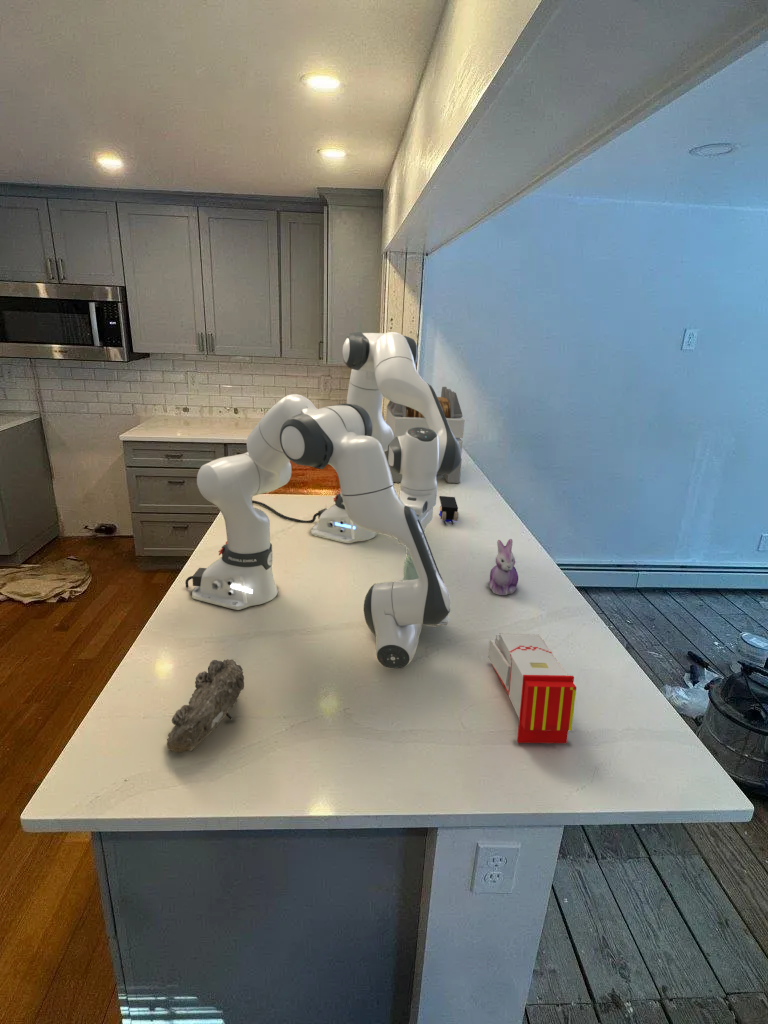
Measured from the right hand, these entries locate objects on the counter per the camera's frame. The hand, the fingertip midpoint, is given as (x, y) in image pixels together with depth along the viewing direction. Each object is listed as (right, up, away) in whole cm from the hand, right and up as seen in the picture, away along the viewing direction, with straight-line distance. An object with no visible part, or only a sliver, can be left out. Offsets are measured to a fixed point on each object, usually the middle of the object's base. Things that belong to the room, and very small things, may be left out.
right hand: (414, 549), depth 141 cm
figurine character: (+16, +6, +73) cm, 76 cm away
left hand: (0, -12, +5) cm, 13 cm away
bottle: (-1, -17, +6) cm, 18 cm away
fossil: (-40, -30, -33) cm, 60 cm away
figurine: (+27, -13, +22) cm, 37 cm away
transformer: (+10, +28, +134) cm, 137 cm away
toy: (+21, -29, -24) cm, 43 cm away
